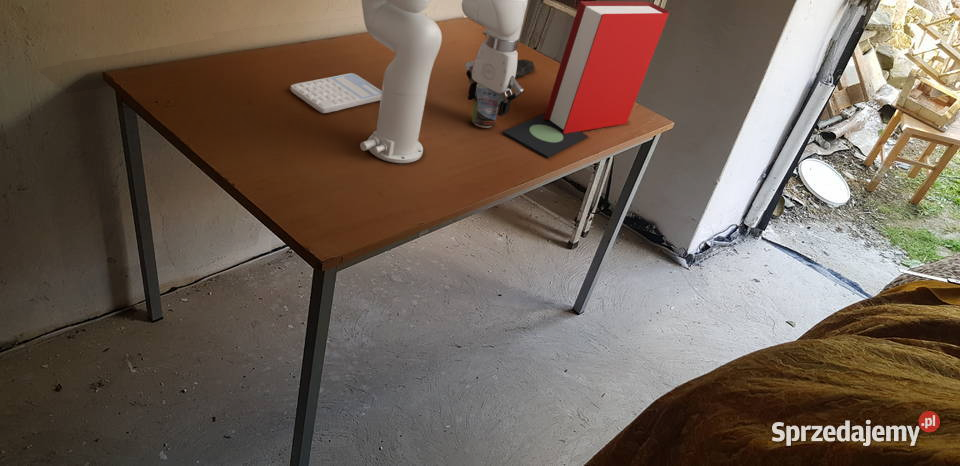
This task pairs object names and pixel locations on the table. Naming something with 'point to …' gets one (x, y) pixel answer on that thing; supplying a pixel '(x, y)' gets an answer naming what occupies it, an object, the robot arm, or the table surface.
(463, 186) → the table surface
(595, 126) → the book
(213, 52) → the table surface
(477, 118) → the beverage can
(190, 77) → the table surface
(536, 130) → the desk mat
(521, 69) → the wood
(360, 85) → the calculator
